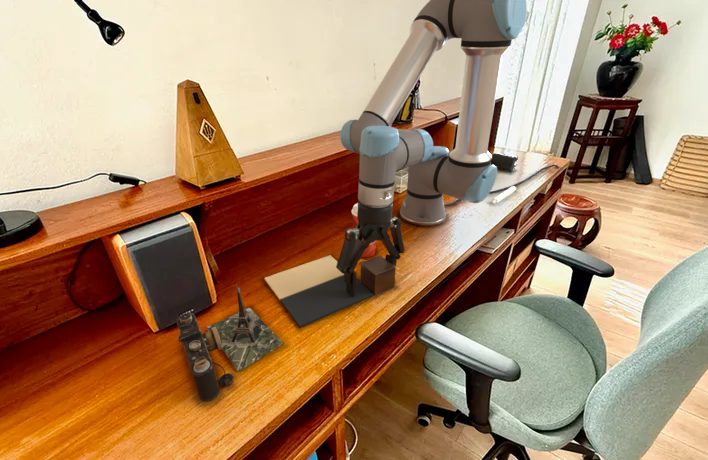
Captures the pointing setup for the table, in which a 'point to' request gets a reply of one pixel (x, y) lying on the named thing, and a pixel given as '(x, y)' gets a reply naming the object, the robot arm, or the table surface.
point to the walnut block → (377, 275)
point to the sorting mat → (314, 290)
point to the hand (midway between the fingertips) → (370, 286)
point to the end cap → (504, 162)
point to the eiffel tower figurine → (245, 336)
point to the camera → (202, 356)
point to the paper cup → (371, 248)
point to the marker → (504, 194)
